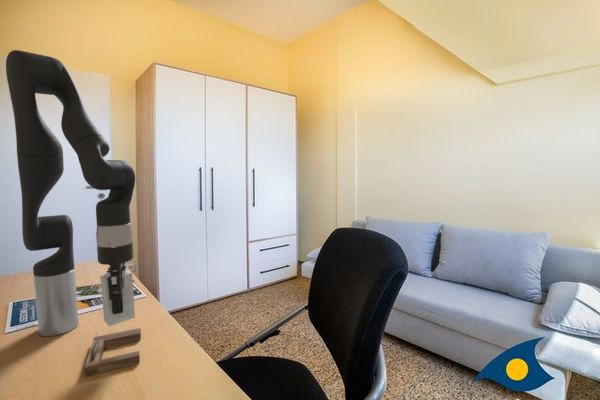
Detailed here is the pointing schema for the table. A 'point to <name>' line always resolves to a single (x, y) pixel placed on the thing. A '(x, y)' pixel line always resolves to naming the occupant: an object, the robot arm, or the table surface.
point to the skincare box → (127, 301)
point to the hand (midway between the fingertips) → (119, 307)
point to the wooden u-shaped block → (100, 365)
